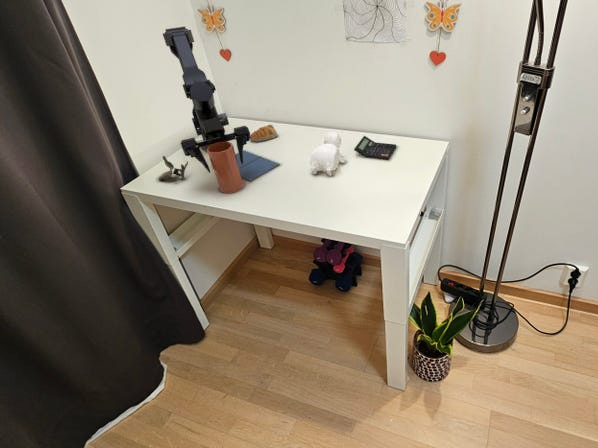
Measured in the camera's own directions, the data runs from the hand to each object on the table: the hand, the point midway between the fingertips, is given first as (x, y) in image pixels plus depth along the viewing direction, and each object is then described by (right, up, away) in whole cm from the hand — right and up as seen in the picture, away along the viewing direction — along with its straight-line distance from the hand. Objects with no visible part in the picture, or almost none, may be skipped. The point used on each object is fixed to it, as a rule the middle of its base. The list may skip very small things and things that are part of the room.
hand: (226, 168), depth 113 cm
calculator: (+43, +8, +18) cm, 47 cm away
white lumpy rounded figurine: (+28, +3, +12) cm, 31 cm away
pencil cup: (0, -5, +5) cm, 7 cm away
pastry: (+3, +15, +31) cm, 35 cm away
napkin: (+1, +3, +15) cm, 15 cm away
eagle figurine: (-20, -2, +12) cm, 24 cm away
